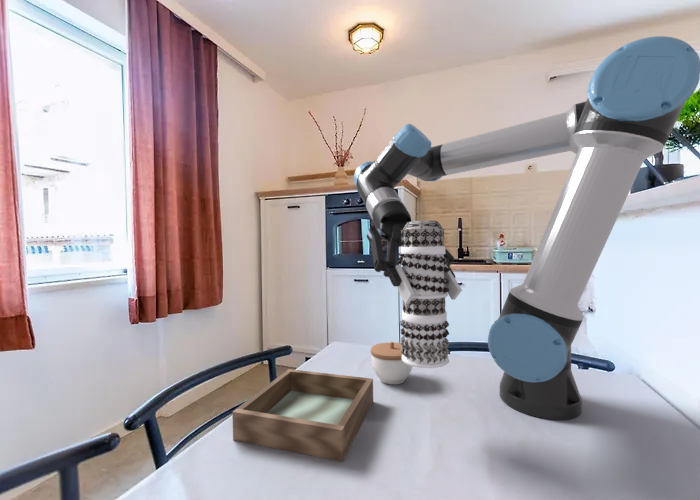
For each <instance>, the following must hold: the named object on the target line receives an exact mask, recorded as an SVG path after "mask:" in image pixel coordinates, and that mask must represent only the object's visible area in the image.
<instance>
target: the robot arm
mask: <svg viewBox="0 0 700 500" xmlns="http://www.w3.org/2000/svg"><path fill="white" fill-rule="evenodd" d="M699 82H700V56H699V54H698V52H697V51H696V49H695V48H693V47H692V46H691V44H689V43H688V42H686V41H684V40H682V39H679V38H677V37H672V36H663V35H660V36H659V35H657V36H649V37H644V38H640V39H637V40H634V41H631V42H628V43H627V44H624V45H623V46H621V47H619V48H617V49H616V50H614V51H612V52H610V54H609V55H607V56H606V57H605V58H604V59H603V60H602V61H601V63H599V65H598V66H597V67H596V69H595V71H594V72H593V75H592V77H591V78H590V80H589V83H588V85H587V86H588V87H587V99H586V100H585V101H583V102H579V103H575V104H573V105H572V106H571V107H570V108H569V109H568V110H567V111H565V112H562V113H558V114H554V115H551V116H547V117H541V118H538V119H534V120H531V121H526V122H524V123H519V124H515V125H511V126H507V127H503V128H500V129H496V130H492V131H487V132H484V133H481V134H477V135H473V136H469V137H465V138H462V139H457V140H453V141H449V142H446V143H443V144H438V145H434V146H432V141H431V140H430V139H429V137H427V136H426V135H425V134H424V133H423V132H422V131H421V130H420V129H419V128H417V127H416V125H413V124H411V123H407V124H404V126H403V127H402V128H401V129H400V130H399V131H398V132H397V133H396V134H395V135H394V136H393V137H392V139H391V140H390V141H389V142H388V144H387V145H386V146H385V148H384V149H383V150H382V151H381V153H380V154H379V155H378V156H377V157H376V159H375V160H374V161H370V160H369V161H365V162H364V163H362V164H360V165H359V166H358V167H356V169H355V170H354V172H353V174H354V175H353V181H354V184H355V187H356V188H355V189H356V191H357V193H358V194H359V195H360V198H361V199H362V201H363V203H364V205H365V208H366V210H367V212H368V215H369V216H370V218H371V220H372V222H373V225H374V226H373V225H371V226H369V228H368V229H369V230H368V231H367V235H366V238H367V240H368V242H369V243H370V248H371V255H372V262H373V267H374V270H375V272H377V273H380V272H383V276H384V277H386V278H388V279H389V280H390V283H391V284H392V285H391V286H393V287H395V288H397V290H398V292H399V294H401V296H400V297H401V298H402V302H403V301H404V303H405V304H409V303H410V302H411V300H412V298H413V297H414V295H415V293H414V291H413V289H412V287H411V285H410V283H409V281H408V279H407V277H406V275H405V273H404V271H403V269H402V267H403V266H402V265H400V264H396V262H397V250H398V247H399V248H401V247H402V234H401V231H400V230H402V229H403V228H404V227H405V225H406V223H407V222H411V221H412V217H411V214H410V212H409V211H408V208H407V207H406V206H405V204H404V203H403V200H402V199H401V198H400V196H399V194H398V193H397V191H396V189H395V188H396V187H397V186H398V185H399V184H400V183H401V182H402V181H403V179H404V178H405V177H406V176H408V175H409V176H412V177H415V178H417V179H420V180H421V181H424V182H437V181H439V180H441V178H443V177H445V176H449V175H450V176H451V175H454V174H460V173H466V172H470V171H476V170H480V169H486V168H491V167H495V166H500V165H504V164H505V165H506V164H510V163H515V162H522V161H525V160H530V159H536V158H542V157H547V156H552V155H556V154H561V153H567V152H572V153H574V154H575V157H574V159H573V162H572V164H571V166H570V169H569V170H568V174H567V177H566V179H565V182H564V184H563V186H562V189H561V191H560V192H559V196H558V198H557V200H556V202H555V205H554V208H553V210H552V213H551V214H550V218H549V220H548V222H547V224H546V228H545V229H544V231H543V234H542V237H541V239H540V241H539V244H538V247H537V249H536V250H535V254H534V257H533V259H532V262H531V263H530V266H529V269H528V271H527V272H526V276H525V278H524V281H523V282H522V284H519V285H517V286H513V287H512V288H510V290H509V291H508V295H507V297H506V300H505V301H504V305H503V306H502V309H501V312H500V314H499V316H498V318H497V319H496V320H495V321H494V323H492V325H491V327H490V329H489V332H488V336H487V346H488V350H489V351H488V352H489V353H490V355H491V358H492V359H493V362H494V363H496V365H497V366H498V368H499V369H501V370H502V371H503V374H502V376H501V380H500V382H499V398H500V399H501V400H502V402H504V404H506V405H507V406H509V407H510V408H512V409H514V410H516V411H519V412H521V413H523V414H526V415H530V416H533V417H538V418H544V419H548V420H549V419H550V420H570V419H574V418H577V417H579V416H580V415H581V414H582V412H583V407H582V406H583V401H582V396H581V394H580V391H579V389H578V386H577V383H576V381H575V378H574V375H573V372H572V371H573V370H572V344H573V343H574V340H575V338H576V336H577V334H578V331H579V329H580V327H581V325H582V323H583V321H584V318H585V317H584V315H583V312H582V311H581V309H580V307H579V303H580V300H581V298H582V296H583V294H584V292H585V289H586V287H587V284H588V283H589V281H590V278H591V276H592V274H593V272H594V270H595V268H596V266H597V263H598V261H599V259H600V258H601V257H600V256H601V254H603V253H602V252H603V250H604V248H605V246H606V243H607V241H608V239H609V237H610V235H611V233H612V231H613V229H614V226H615V224H616V222H617V220H618V218H619V216H620V214H621V211H622V209H623V207H624V204H625V202H626V200H627V199H628V198H627V197H628V196H629V194H630V192H631V189H632V187H633V185H634V182H635V181H636V179H637V176H638V174H639V172H640V169H641V168H642V165H643V163H644V161H645V160H646V159H648V158H650V157H652V156H655V155H656V154H658V153H661V152H662V151H663V149H664V148H665V146H666V143H667V141H668V140H669V137H670V135H671V133H672V131H673V128H674V127H675V125H676V122H677V121H678V118H679V116H680V113H681V112H682V109H683V107H685V106H684V105H685V104H686V102H687V101H688V99H689V98H690V97H691V96H692V95H693V94H694V92H695V91H696V89H697V88H698V85H699ZM382 239H383V240H385V241H386V242H387V245H386V250H387V251H386V258H385V255H384V254H385V253H384V250H383V244H382ZM445 257H446V258H447V259H448V260H449V263H447V264H445V267H447V268H449V272H447V273H444V277H445V278H446V279H448V280H449V282H448V283H447V284H444V287H446V288H448V289H449V291H448V292H447V293H448V296H449V297H450V299H451V300H452V301H453V300H456V299H457V298H458V297H459V295H460V293H461V292H462V291H463V289H462V287H461V285H460V284H459V283H458V282H457V280H456V274H455V273H454V271H453V270H452V268H451V265H452V263H453V262H454V261H455V257H454V256H453V254H452V253H451V252H449V250H448V249H447V248H446V247H445V254H444V258H445ZM385 259H386V260H385Z"/></svg>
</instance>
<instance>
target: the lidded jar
mask: <svg viewBox="0 0 700 500" xmlns="http://www.w3.org/2000/svg"><path fill="white" fill-rule="evenodd" d="M401 347H402V345H401V342H394V341H389V342H381V343H377V344H374V345H372V346H371V348H370V358H371V359H370V361H371V365H372V370H373V371H374V373H375V375H376V376H377V377H378V378H379V379H380V382H382V383H384V384H388V385H400V384H402V383H404V382H405V380H406V379H407V378H408V377H409V375H410V374H411V373H412V370H413V366H410V365H408V364H405V363H404V362H403V361H402V355H403V354H402V353H401Z"/></svg>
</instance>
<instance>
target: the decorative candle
mask: <svg viewBox="0 0 700 500" xmlns="http://www.w3.org/2000/svg"><path fill="white" fill-rule="evenodd" d="M445 230H446V228H443V226H442V224H441V223H440V221H437V220H431V219H429V220H427V219H426V220H411V222H407V223H406V225H405V227H404V228H403V229H402V230H400V231H401V234H402V246H400V253H399V252H398V253H397V252H396V255H398V256H399V257H398V258H396V262H397V265H401V267H402V269H403V271H404V273H405V275H406V277H407V279H408V281H409V283H410V285H411V287H412V289H413V291H414V293H415V295H414V297H413V298H412V300H411V302H410V303H409V304H405V303H404V301H403V300H402V310H401V312H402V313H401V317H402V319H401V320H400V323H399V324H400V326H401V328H400V334H401V335H402V337H400V343H401V345H402V347H401V353H402V354H403V355H402V361H403V362H404V363H405V364H408V365H410V366H412V367H415V368H421V369H435V368H442V367H445V366H447V365H448V364H449V363H450V359H449V357H448V356H449V355H450V353H451V352H450V350H449V348H448V347H449V345H451V344H450V341H449V339H448V338H447V337H448V336H449V335H450V332H449V330H448V329H447V328H448V327H449V326H450V323H449V322H448V321H447V319H448V317H447V316H448V315H447V313H448V312H447V311H446V298H447V297H448V296H449V294H448V293H447V292H448V291H449V289H448V288H446V287H444V284H447V283H448V282H449V280H448V279H446V278H445V277H444V273H447V272H449V268H447V267H445V264H447V263H449V260H448V259H447V258H446V257H445V258H444V254H445V248H446V246H445V235H444V234H445ZM399 294H400V293H399ZM400 297H402V296H401V294H400Z"/></svg>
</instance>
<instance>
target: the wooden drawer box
mask: <svg viewBox="0 0 700 500" xmlns="http://www.w3.org/2000/svg"><path fill="white" fill-rule="evenodd" d="M373 403H374V378H369V377H361V376H352V375H345V374H343V375H342V374H336V373H327V372H326V373H325V372H317V371H310V370H309V371H307V370H299V369H291V368H288V369H287V370H286V371H285V370H284V372H283V373H281V374H279V376H277V377H276V378H275V379H274V380H272V381H270V383H268V384H267V385H266V386H264V387H263V388H262V389H261V390H259V391H257V392H256V393H255V394H254V395H252V396H251V397H250V398H249V399H247V400H246V401H245V402H244V403H242V404H240V405H239V406H238V407H237V408H236V409H234V410H232V440H233V441H238V442H243V443H246V444H253V445H257V446H262V447H266V448H267V447H268V448H272V449H278V450H283V451H288V452H291V453H292V452H293V453H296V454H297V453H298V454H303V455H308V456H313V457H316V458H317V457H318V458H320V459H321V458H323V459H327V460H328V459H329V460H333V461H338V462H343V461H344V459H345V458H346V456H347V454H348V452H349V449H350V448H351V446H352V444H353V442H354V439H355V438H356V436H357V434H358V433H359V430H360V428H361V427H362V424H363V423H364V421H365V419H366V417H367V415H368V412H369V411H370V409H371V407H372V405H373Z"/></svg>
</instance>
